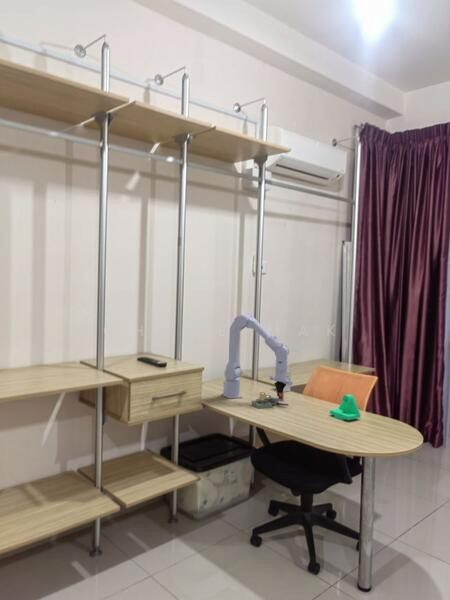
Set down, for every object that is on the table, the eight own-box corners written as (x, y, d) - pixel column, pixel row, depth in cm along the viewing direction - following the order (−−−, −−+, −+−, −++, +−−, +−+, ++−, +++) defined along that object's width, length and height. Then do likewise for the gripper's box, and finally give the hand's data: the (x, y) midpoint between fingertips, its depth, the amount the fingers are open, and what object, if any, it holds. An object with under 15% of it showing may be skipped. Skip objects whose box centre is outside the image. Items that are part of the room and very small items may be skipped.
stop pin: (258, 404, 238) (259, 392, 238) (264, 404, 238) (264, 392, 238) (259, 405, 235) (260, 393, 235) (265, 405, 236) (265, 393, 235)
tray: (251, 404, 239) (252, 400, 239) (264, 403, 242) (265, 399, 241) (258, 408, 232) (258, 404, 232) (271, 407, 235) (271, 403, 235)
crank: (262, 400, 242) (262, 392, 242) (263, 398, 246) (264, 390, 246) (283, 402, 239) (283, 393, 239) (284, 400, 243) (284, 391, 243)
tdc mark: (280, 404, 240) (280, 403, 240) (280, 403, 241) (280, 403, 241) (288, 405, 239) (288, 404, 239) (288, 404, 240) (288, 404, 240)
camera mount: (328, 415, 224) (329, 393, 223) (340, 413, 228) (341, 391, 228) (348, 422, 214) (349, 399, 213) (360, 420, 218) (361, 397, 218)
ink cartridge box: (275, 388, 274) (276, 362, 273) (283, 387, 276) (283, 362, 275) (282, 392, 266) (283, 365, 265) (290, 391, 268) (291, 365, 267)
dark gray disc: (252, 400, 246) (252, 398, 246) (271, 398, 251) (271, 396, 251) (262, 406, 236) (262, 404, 236) (281, 404, 241) (282, 402, 241)
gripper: (265, 367, 246) (264, 394, 247) (285, 373, 234) (284, 401, 235) (275, 366, 250) (274, 392, 251) (295, 372, 239) (294, 399, 240)
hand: (279, 396), depth 243 cm, fingers closed, pressing on crank
